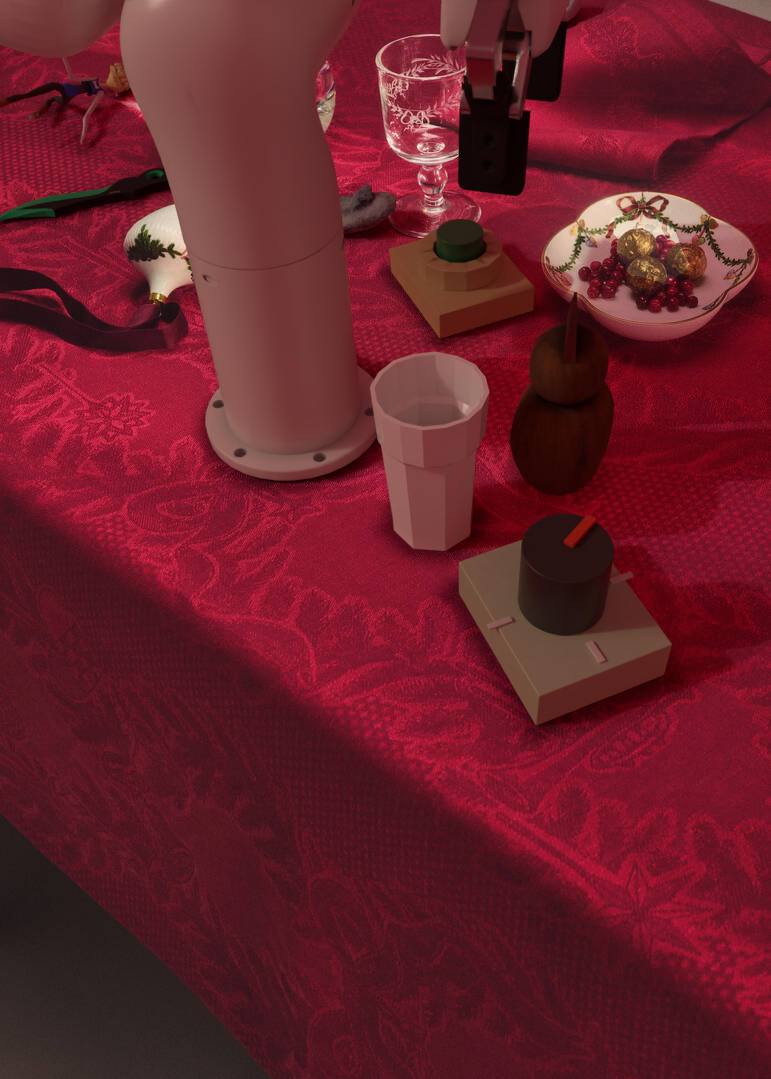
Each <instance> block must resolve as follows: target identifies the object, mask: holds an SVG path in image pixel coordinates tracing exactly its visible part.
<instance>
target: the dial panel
mask: <svg viewBox="0 0 771 1079" xmlns="http://www.w3.org/2000/svg"><path fill="white" fill-rule="evenodd" d="M521 543H522V539H519V540H518V541H514V542H511V543H509V544H505V545H503V546H499V547H497V548H494V549H491V550H488V551H485V552H483V553H480V554H478V555H477V554H476V555H474V556H471V557H469V558H466V559H464V560H461V561H459V562H458V595H459V596H460V598H461V599H462V601H463V603H464V605H465V607H466V608H467V610H468V612H469V613H470V615H471V617H472V619H473V620H474V622H475V623H476V625H477V628H478V629H479V631H480V633H481V634H482V636H483V637H484V639H485V641H486V642H487V644H488V646H489V648H490V649H491V651H492V652H493V655H494V657H495V658H496V660H497V662H498V663H499V665H500V666H501V668H502V671H503V672H504V674H505V675H506V677H507V678H508V680H509V682H510V684H511V686H512V688H513V689H514V691H515V693H516V694H517V696H518V698H519V699H520V701H521V703H522V704H523V706H524V708H525V709H526V711H527V713H528V714H529V716H530V718H531V720H532V721H533V723H534V725H535V726H539V725H541V724H544V723H547V722H549V721H551V720H554V719H556V718H559V717H562V716H564V715H566V714H569V713H572V712H574V711H576V710H579V709H582V708H584V707H586V706H589V705H592V704H594V703H596V702H599V701H602V700H605V699H607V698H609V697H612V696H614V695H617V694H620V693H622V692H624V691H627V690H629V689H632V688H634V687H637V686H639V685H642V684H645V683H647V682H649V681H652V680H654V679H657V678H659V677H662V676H664V675H665V672H666V669H667V665H668V661H669V658H670V654H671V650H672V648H673V643H672V642H671V641H670V639H669V638H668V636H667V635H666V634H665V632H664V631H663V629H662V628H661V627H660V625H659V623H657V621H656V620H655V619H654V617H653V616H652V615H651V613H650V612H649V611H648V609H647V608H646V607H645V605H644V604H643V603H642V601H641V600H640V598H639V597H638V595H637V594H636V593H635V591H634V590H633V589H632V588H631V586H630V584H628V582H627V580H629V579H632V578H634V573H633V572H632V571H631V570H629V571H627V572H624V573H621V572H620V571H619V570H618V569H617V567H616V565H614V563H613V564H612V570H611V576H610V581H609V587H608V593H607V598H606V604H605V609H604V613H603V615H602V617H601V618H600V620H599V621H598V622H597V623H596V624H595V625H594V626H593V627H591V628H590V629H588V630H586V631H584V632H582V633H578V634H574V635H555V634H550V633H547V632H544V631H542V630H540V629H538V628H536V627H535V626H533V625H532V624H531V623H530V622H528V620H527V619H526V618H525V617H524V616H523V614H522V612H521V610H520V608H519V604H518V587H519V573H520V558H521Z"/></svg>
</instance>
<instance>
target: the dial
mask: <svg viewBox="0 0 771 1079" xmlns="http://www.w3.org/2000/svg"><path fill="white" fill-rule="evenodd" d="M521 540H522V543H521V558H520V573H519V587H518V604H519V608H520V610H521V612H522V614H523V616H524V617H525V618H526V619H527V620H528V622H530V623H531V624H532V625H533V626H535V627H536V628H538V629H540V630H542V631H544V632H547V633H550V634H555V635H574V634H578V633H582V632H584V631H586V630H588V629H590V628H591V627H593V626H594V625H595V624H596V623H597V622H598V621H599V620H600V618H601V617H602V615H603V613H604V609H605V604H606V598H607V593H608V587H609V581H610V576H611V570H612V564H614V558H615V546H614V541H613V539H612V537H611V535H610V534H609V533H608V531H607V530H606V528H604V527H603V526H602V525H601V524H599V523H598V522H597V518H596V517H594V516H593V515H591V514H586V515H585V516H583V515H580V514H576V513H575V514H574V513H556V514H550V515H547V516H544V517H542V518H540V519H538V520H536V521H535V522H533V523H532V524H531V525H530V526H529V527H528V528H527V530H526V531H525V533H524V534H523V536H522V539H521Z"/></svg>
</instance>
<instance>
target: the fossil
mask: <svg viewBox="0 0 771 1079" xmlns="http://www.w3.org/2000/svg"><path fill="white" fill-rule="evenodd" d="M339 198H340V207H341V213H342V223H343V233H344V235H349V234H354V233H359V232H362V231H368V230H371V229H373V228H375V227H376V226H378V225H379V224H380V223H382V222H383V221H386V220H387V219H388V218H389V217H390V216H391V215H392V214H393V213H394V212H395V211H396V209H397V206H398V203H397V196H396V195H395V194H394V193H391V192H388V191H384V190H383V191H382V190H381V191H375V192H374V191H373V189H372V186H371V185H370V184H364V185H363V186H361V187H360V189H358V190H356V191H354V193H353V194H348V195H340V194H339Z"/></svg>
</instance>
